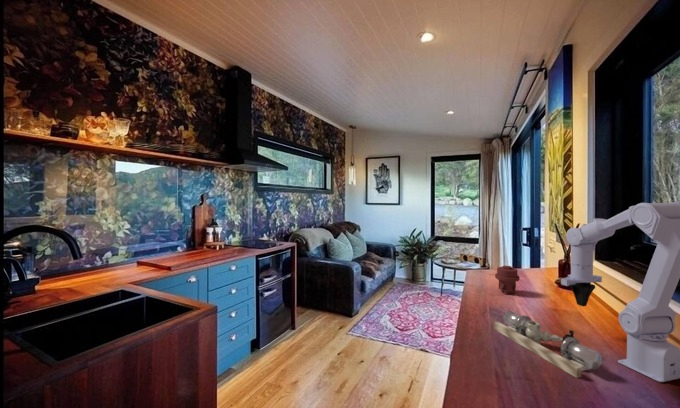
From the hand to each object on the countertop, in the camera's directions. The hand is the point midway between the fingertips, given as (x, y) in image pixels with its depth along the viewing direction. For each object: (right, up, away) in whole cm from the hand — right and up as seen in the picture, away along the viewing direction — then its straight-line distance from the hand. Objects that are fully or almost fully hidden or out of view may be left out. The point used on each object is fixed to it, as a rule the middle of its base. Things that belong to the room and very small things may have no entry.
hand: (581, 305), depth 100 cm
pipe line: (-17, -10, -8) cm, 22 cm away
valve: (-16, -10, -8) cm, 21 cm away
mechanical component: (-1, -8, +42) cm, 43 cm away
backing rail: (-22, -10, -9) cm, 26 cm away
